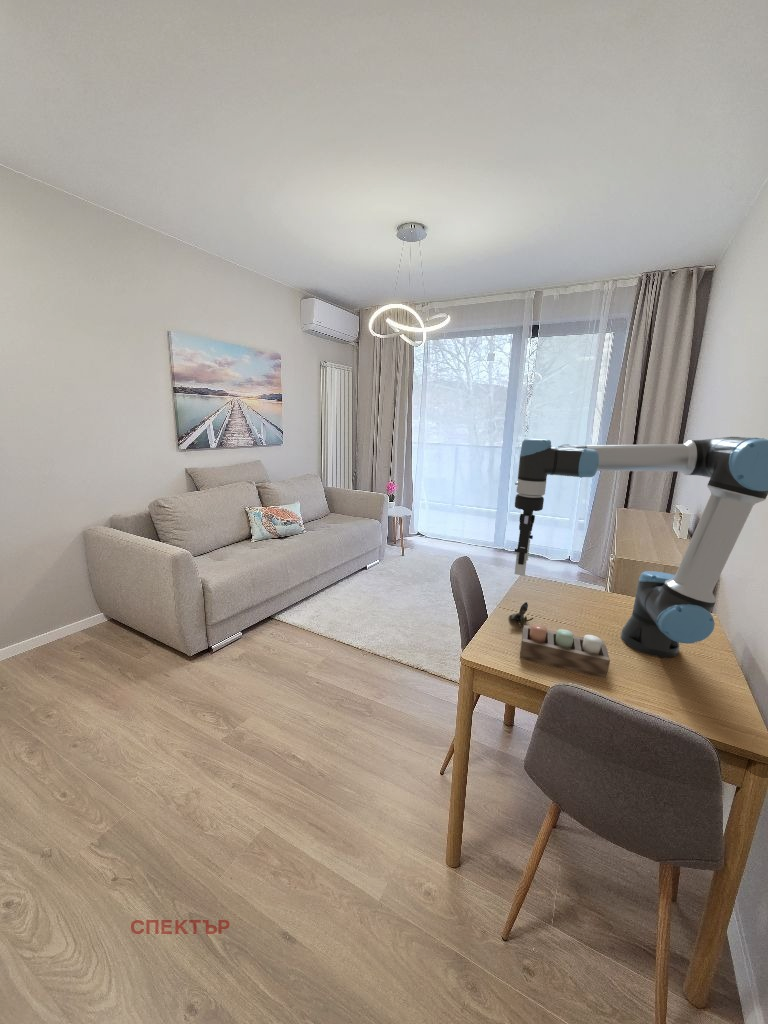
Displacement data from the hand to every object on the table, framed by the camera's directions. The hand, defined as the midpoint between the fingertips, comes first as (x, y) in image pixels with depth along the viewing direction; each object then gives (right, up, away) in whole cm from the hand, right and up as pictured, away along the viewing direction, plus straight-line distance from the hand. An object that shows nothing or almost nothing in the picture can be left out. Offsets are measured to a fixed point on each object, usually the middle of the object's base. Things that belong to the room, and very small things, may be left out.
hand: (521, 566), depth 120 cm
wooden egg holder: (+11, -26, -2) cm, 28 cm away
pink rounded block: (+4, -22, -1) cm, 22 cm away
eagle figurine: (+5, -21, +18) cm, 28 cm away
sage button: (+11, -23, -3) cm, 25 cm away
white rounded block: (+17, -24, -5) cm, 30 cm away
